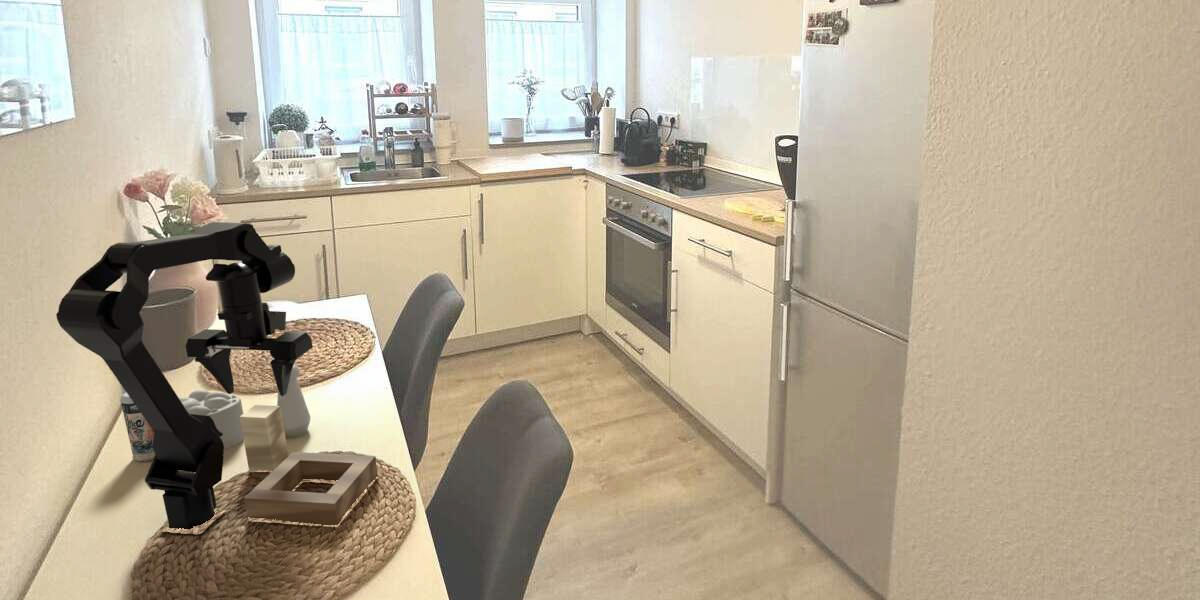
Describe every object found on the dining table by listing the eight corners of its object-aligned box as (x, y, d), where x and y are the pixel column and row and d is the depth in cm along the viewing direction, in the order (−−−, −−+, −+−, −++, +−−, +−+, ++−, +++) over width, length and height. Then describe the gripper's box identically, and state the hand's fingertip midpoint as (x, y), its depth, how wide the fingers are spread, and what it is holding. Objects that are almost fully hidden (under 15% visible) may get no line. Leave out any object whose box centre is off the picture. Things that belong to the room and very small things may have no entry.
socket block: (337, 528, 115) (334, 503, 114) (248, 522, 117) (243, 498, 116) (378, 478, 128) (375, 456, 127) (296, 473, 131) (293, 451, 129)
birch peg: (274, 473, 131) (265, 417, 128) (249, 472, 132) (239, 416, 129) (289, 460, 135) (280, 405, 132) (264, 458, 136) (255, 404, 133)
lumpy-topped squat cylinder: (169, 437, 145) (159, 393, 142) (246, 423, 150) (239, 380, 147) (164, 463, 136) (154, 416, 133) (247, 447, 140) (239, 401, 138)
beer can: (129, 465, 135) (114, 399, 132) (137, 452, 140) (123, 388, 136) (161, 460, 136) (147, 395, 133) (167, 447, 141) (154, 384, 137)
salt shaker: (300, 441, 142) (290, 372, 138) (271, 438, 143) (260, 371, 139) (318, 426, 147) (308, 360, 143) (290, 424, 148) (279, 358, 144)
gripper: (322, 288, 131) (334, 376, 136) (217, 286, 134) (233, 372, 139) (286, 309, 121) (301, 404, 125) (174, 306, 123) (192, 399, 128)
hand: (257, 394), depth 130 cm, fingers open, 9 cm apart
